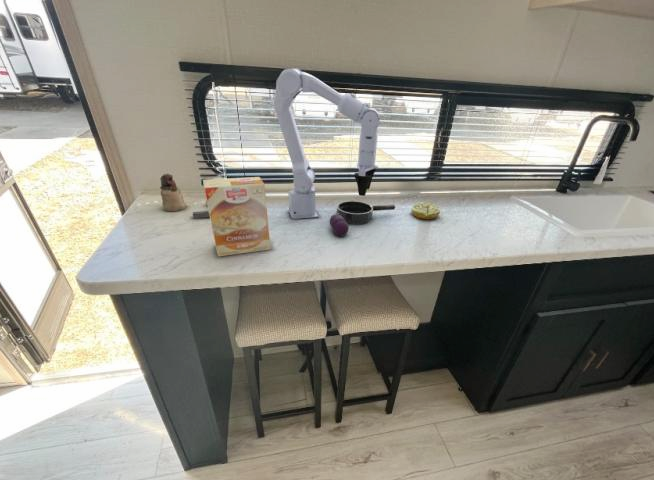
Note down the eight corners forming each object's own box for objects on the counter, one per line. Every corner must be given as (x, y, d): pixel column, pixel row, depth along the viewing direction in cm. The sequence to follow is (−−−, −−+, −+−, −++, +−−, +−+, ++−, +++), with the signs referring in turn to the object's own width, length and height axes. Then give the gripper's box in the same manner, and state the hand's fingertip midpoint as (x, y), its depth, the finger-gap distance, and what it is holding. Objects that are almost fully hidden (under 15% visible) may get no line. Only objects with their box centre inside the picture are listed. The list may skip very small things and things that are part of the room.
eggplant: (350, 237, 108) (351, 223, 106) (335, 239, 107) (335, 224, 104) (340, 222, 118) (340, 209, 115) (326, 223, 116) (326, 210, 114)
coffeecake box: (217, 257, 93) (203, 187, 82) (215, 246, 98) (201, 179, 87) (271, 250, 99) (265, 183, 87) (266, 239, 104) (259, 175, 92)
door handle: (190, 218, 107) (241, 212, 111) (195, 197, 123) (240, 193, 126) (193, 227, 109) (243, 222, 113) (197, 206, 125) (242, 201, 128)
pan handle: (371, 211, 122) (371, 206, 121) (369, 209, 123) (370, 205, 122) (395, 210, 125) (396, 205, 124) (393, 208, 126) (394, 203, 125)
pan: (342, 226, 116) (342, 215, 113) (332, 212, 126) (333, 201, 123) (376, 223, 119) (378, 212, 117) (365, 210, 129) (365, 200, 127)
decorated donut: (405, 214, 128) (406, 204, 126) (421, 208, 135) (423, 199, 132) (427, 222, 123) (429, 213, 120) (443, 216, 129) (445, 206, 127)
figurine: (178, 203, 124) (170, 169, 117) (189, 207, 121) (182, 173, 114) (160, 207, 119) (150, 173, 112) (171, 213, 116) (161, 178, 109)
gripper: (375, 156, 102) (371, 200, 110) (382, 147, 114) (378, 187, 122) (353, 154, 103) (351, 197, 111) (362, 145, 115) (359, 184, 123)
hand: (364, 191), depth 117 cm, fingers open, 7 cm apart
